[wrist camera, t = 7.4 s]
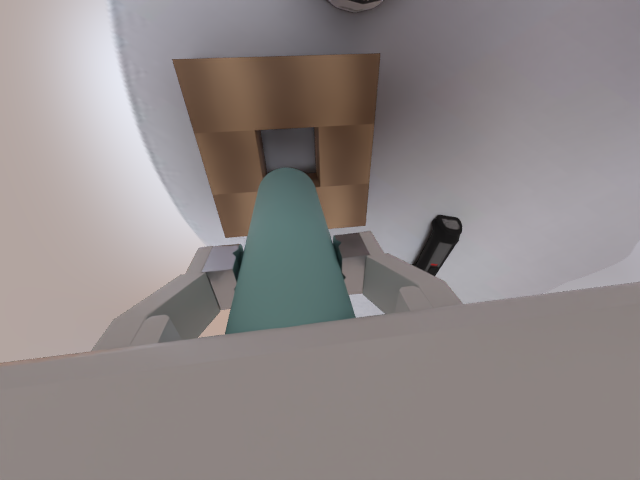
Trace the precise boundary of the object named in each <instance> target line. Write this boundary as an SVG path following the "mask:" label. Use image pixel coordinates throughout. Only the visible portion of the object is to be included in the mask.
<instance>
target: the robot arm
mask: <svg viewBox="0 0 640 480" xmlns="http://www.w3.org/2000/svg"><path fill="white" fill-rule="evenodd" d="M333 246H334V249H335V253H336V256H337V259H338V262H339V266H340V269H341V272H342V275H343V278H344V282H345V285H346V288H347V291H348V295H351V294H362V293H363V295H364V296H365V297H367V298H368V299H369V300H370V301H371V302H372V303H373V304H375V305H376V306H377V307H378V308H379V309H380V310H381V311H383V312H384V313H385V314H382V315H374V316H367V317H359V318H351V319H343V320H335V321H327V322H319V323H311V324H304V325H299V326H292V327H284V328H273V329H265V330H256V331H249V332H241V333H233V334H225V335H217V336H209V337H202V338H198V337H199V336H200V334H201V333H202V332H203V331H204V330H205V329H206V327H207V326H208V325H209V324H210V323H211V322H212V320H213V319H214V318H215V317H216V316H217V315H218V314H219V312H220V310H225V309H231V306H232V301H233V297H234V293H235V288H236V284H237V279H238V275H239V271H240V266H241V262H242V258H243V253H244V251H243V248H242V245H241V244H235V245H221V246H208V247H201V248H199V249H198V250H197V252H196V254H195V256H194V258H193V260H192V262H191V264H190V266H189V267H188V269H187V271H186V273H185V274H184V275H180V276H178V277H177V278H175V279H174V280H172V281H171V282H169V283H168V284H166V285H165V286H163V287H162V288H160V289H159V290H157V291H156V292H154V293H153V294H151V295H150V296H148V297H147V298H145V299H144V300H142V301H141V302H140V303H138V304H136V305H135V306H133V307H132V308H130V309H129V310H127V311H126V312H124V313H123V314H121V315H120V316H118V317H117V318H115V319H114V320H113V321H112V322H111V324H110V325H109V327H108V328H107V329H106V331H105V332H104V334H103V335H102V336H101V338H100V339H99V340H98V342H97V343H96V345H95V346H94V347H93V349H92V350H91V352H83V353H75V354H67V355H59V356H51V357H43V358H35V359H27V360H20V361H11V362H3V363H0V480H640V282H635V283H627V284H619V285H611V286H603V287H595V288H588V289H579V290H572V291H563V292H556V293H548V294H540V295H532V296H524V297H516V298H508V299H500V300H492V301H485V302H477V303H469V304H463V303H462V302H461V301H460V299H459V298H458V297H457V296H456V294H455V293H454V292H453V291H452V290H451V288H450V287H449V286H448V285H447V283H446V282H445V281H443V280H441V279H439V278H437V277H435V276H433V275H431V274H429V273H427V272H425V271H423V270H421V269H419V268H417V267H415V266H413V265H411V264H409V263H407V262H405V261H403V260H401V259H399V258H397V257H395V256H393V255H391V254H389V253H387V254H385V253H384V252H383V250H382V248H381V247H380V245H379V243H378V242H377V240H376V239H375V237H374V235H373V234H372V232H371V231H367V232H359V233H351V234H343V235H335V236H333Z"/></svg>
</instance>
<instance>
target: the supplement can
mask: <svg viewBox="0 0 640 480" xmlns="http://www.w3.org/2000/svg"><path fill="white" fill-rule="evenodd" d="M328 1H329V2H330V3H331V4H332V5H334V6H335V7H336V8H340V9H343V10H347V11H351V12H359V11H363V10H368V9H372V8H374V7H376V6H377V5H378V4H380V3H381V2H383V1H384V0H328Z"/></svg>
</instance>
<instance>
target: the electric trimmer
mask: <svg viewBox="0 0 640 480" xmlns="http://www.w3.org/2000/svg"><path fill="white" fill-rule="evenodd" d="M432 226H433V232H432V234H431V236H430V238H429V240H428V242H427V244H426V246H425V248H424V250H423V252H422V254H421V256H420V258H419V260H418V262H417V264H416V265H415V267H417V268H419V269H421V270H423V271H425V272H427V273H429V274H431V275H433V276H435V275H436V274H437V272H438V271H439V269H440V268H441V266H442V265H443V263H444V262H445V260H446V259H447V257H448V256H449V254H450V252H451V251H452V249H453V248H454V246H455V245H456V244H457V242H458V241H459V236H460V234H461V233H462V224H461V221H460V220H459V219H458V218H456V217H450V216H443V215H438V217H437V219H434V220H433V222H432Z"/></svg>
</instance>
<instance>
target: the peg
mask: <svg viewBox="0 0 640 480" xmlns="http://www.w3.org/2000/svg"><path fill="white" fill-rule="evenodd" d="M351 318H356V317H355V314H354V311H353V308H352V304H351V301H350V298H349V295H348V291H347V288H346V285H345V282H344V278H343V275H342V272H341V269H340V266H339V262H338V259H337V256H336V253H335V249H334V246H333V243H332V240H331V236H330V233H329V230H328V227H327V223H326V220H325V217H324V214H323V210H322V207H321V204H320V201H319V198H318V194H317V191H316V188H315V185H314V183H313V181H312V180H311V179H310V177H309V176H308V175H306V174H305V173H304V172H302V171H300V170H298V169H294V168H279V169H276V170H273V171H271V172H270V173H268V174H267V175H266V176H265V177H264V178H263V180H262V181H261V183H260V185H259V188H258V192H257V197H256V201H255V205H254V210H253V214H252V218H251V223H250V227H249V232H248V236H247V240H246V245H245V249H244V253H243V258H242V262H241V266H240V271H239V275H238V279H237V284H236V288H235V293H234V297H233V301H232V306H231V310H230V314H229V319H228V323H227V327H226V332H225V334H233V333H241V332H249V331H256V330H265V329H273V328H284V327H292V326H299V325H304V324H311V323H319V322H327V321H335V320H343V319H351Z"/></svg>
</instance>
